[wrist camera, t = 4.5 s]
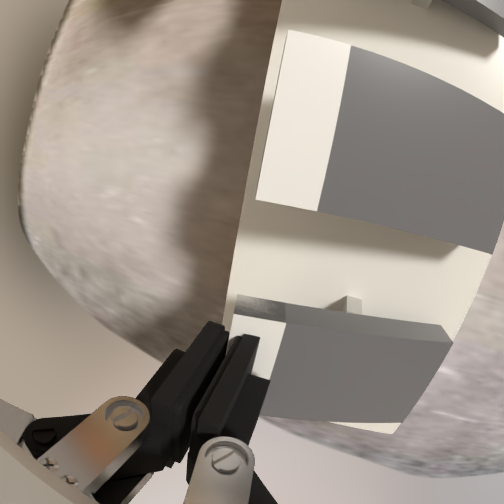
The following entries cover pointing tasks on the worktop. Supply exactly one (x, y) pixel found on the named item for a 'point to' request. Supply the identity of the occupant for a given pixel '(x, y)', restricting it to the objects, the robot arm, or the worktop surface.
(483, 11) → the switch
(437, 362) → the switch
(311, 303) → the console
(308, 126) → the switch
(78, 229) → the worktop surface
